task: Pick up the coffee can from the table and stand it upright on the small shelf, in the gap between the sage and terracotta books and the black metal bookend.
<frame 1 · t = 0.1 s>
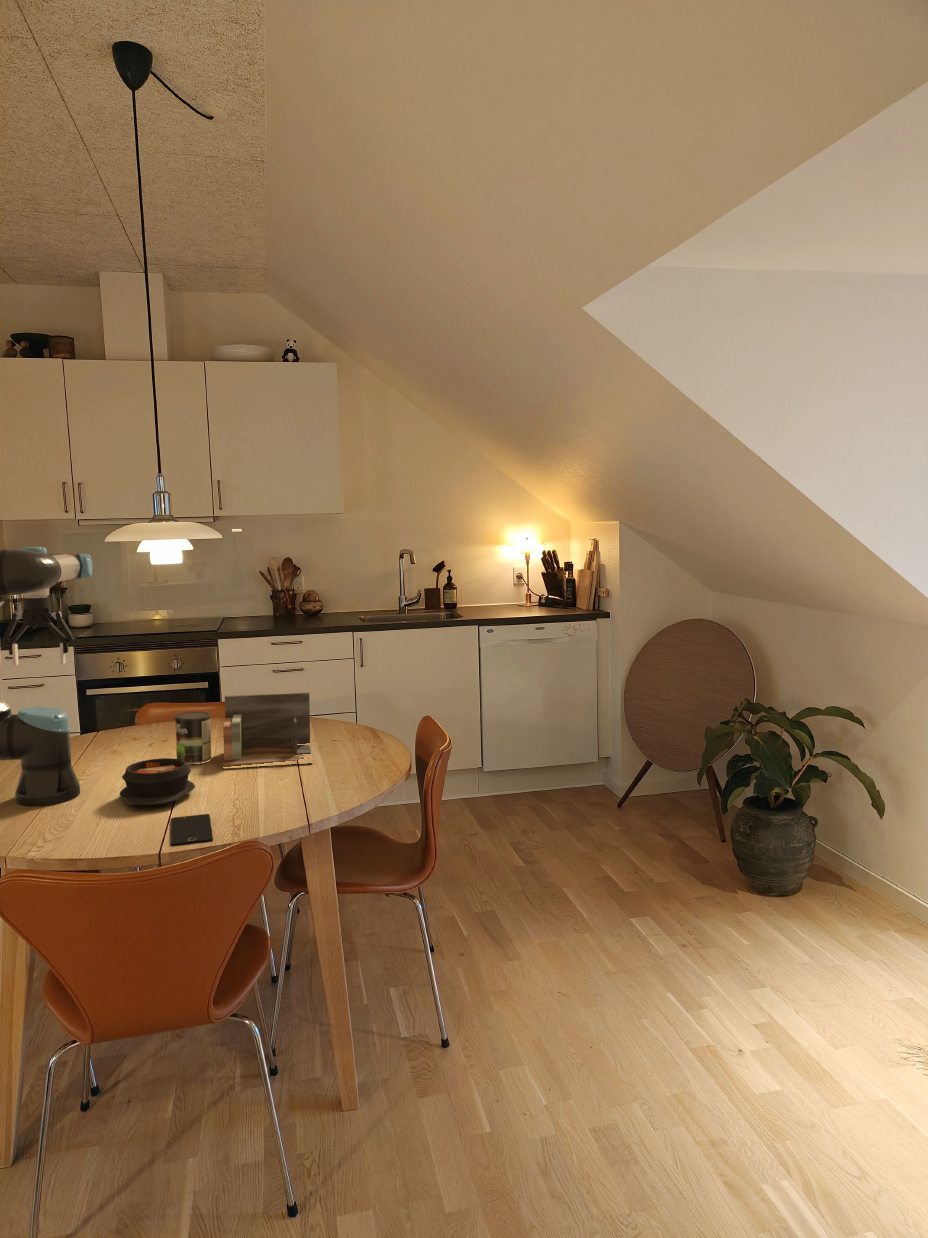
hand: (39, 664, 258), 28 cm above the table, tool pointing down, fingers open, 13 cm apart
cell phone: (191, 832, 192), on the table
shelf: (268, 757, 254), on the table
casserole: (158, 797, 217), on the table
coffee can: (194, 761, 251), on the table
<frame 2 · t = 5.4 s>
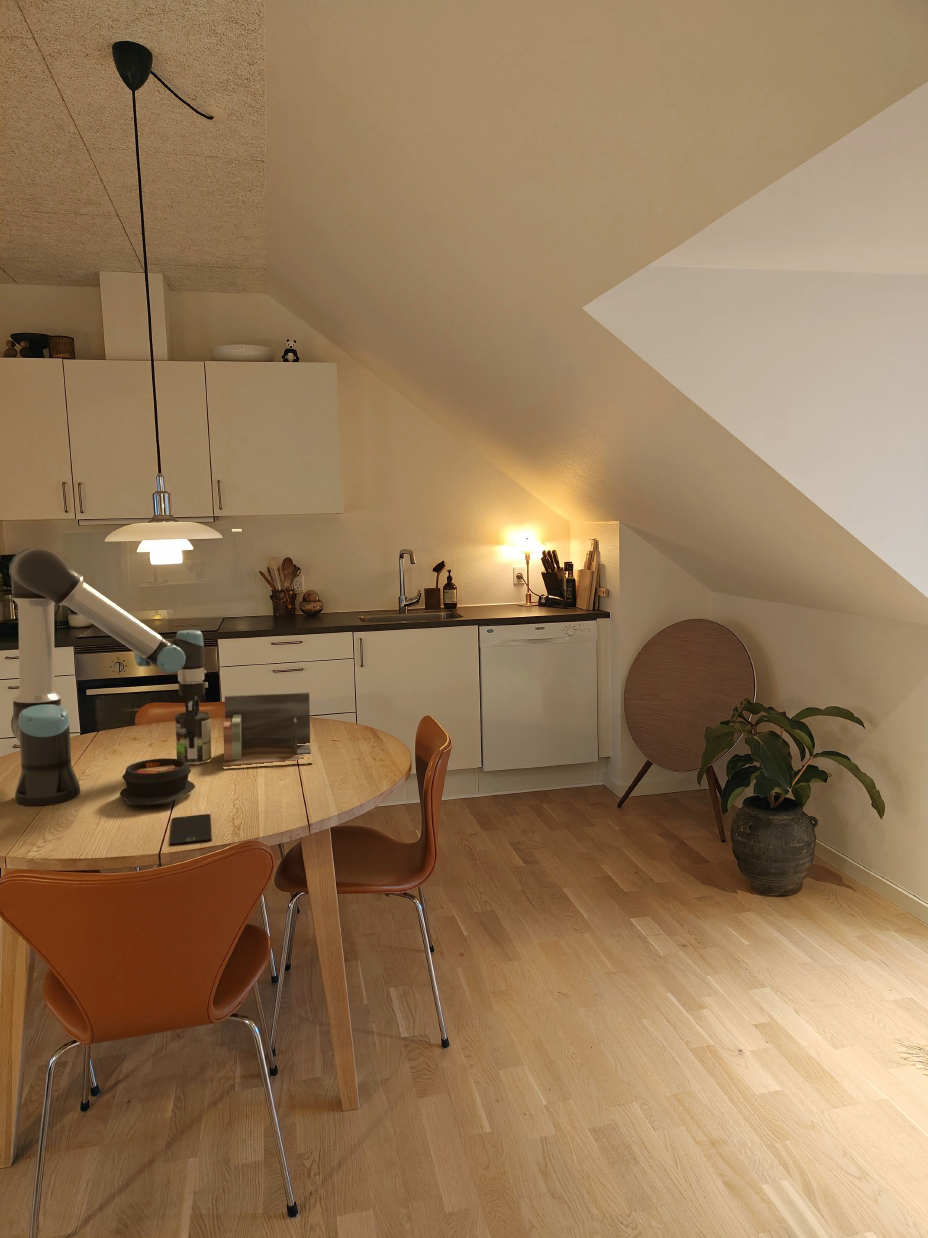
hand: (194, 753, 251), 2 cm above the table, tool pointing down, fingers closed on coffee can, 10 cm apart
coffee can: (194, 761, 251), on the table, touching gripper
everything else where it was.
when the fingers open (5 cm above the table, at t = 13.0 s): coffee can drops 1 cm, resting on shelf.
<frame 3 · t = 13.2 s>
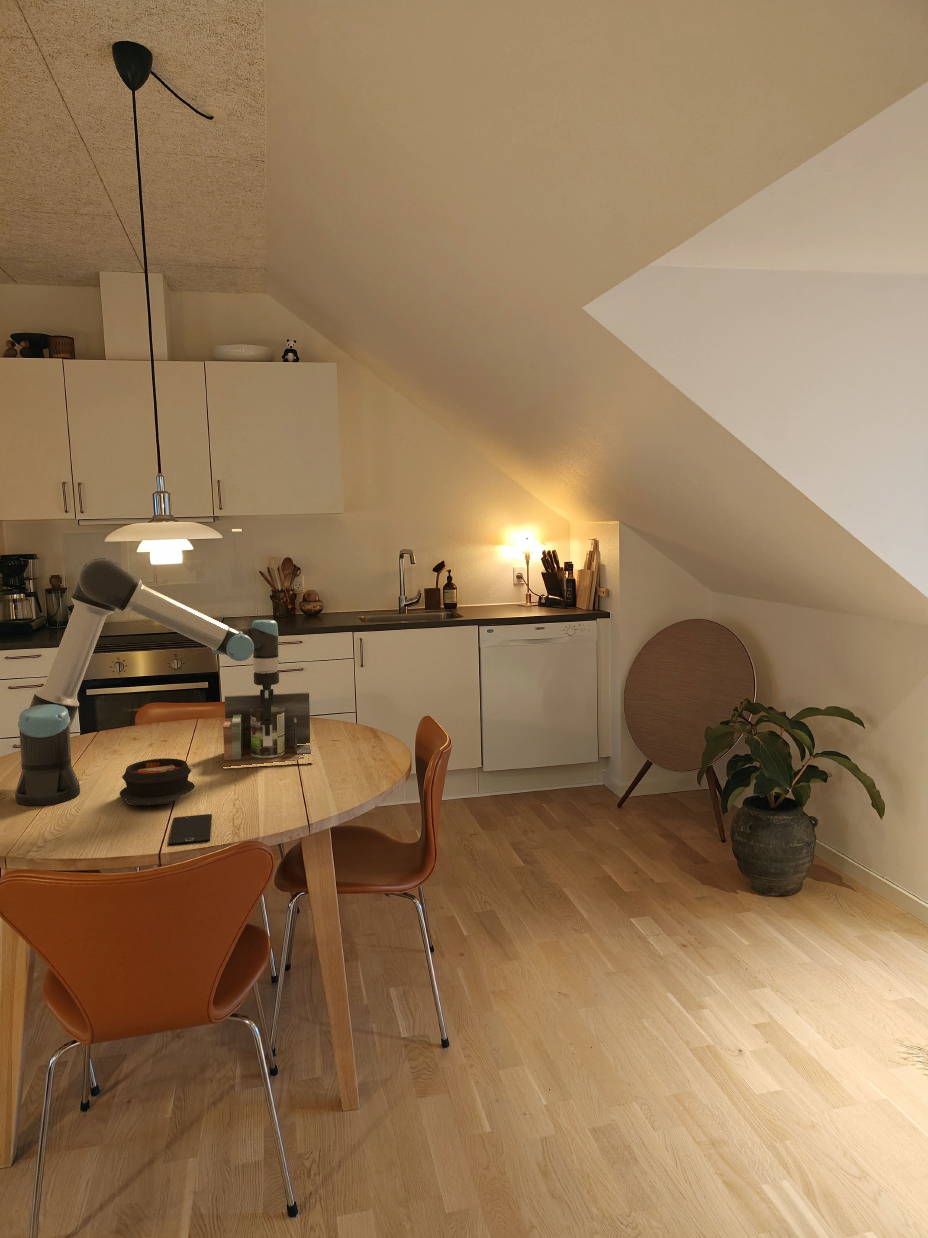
hand: (268, 741, 252), 6 cm above the table, tool pointing down, fingers open, 12 cm apart
coffee can: (268, 754, 253), point 1 cm above the table, touching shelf
everything else where it was.
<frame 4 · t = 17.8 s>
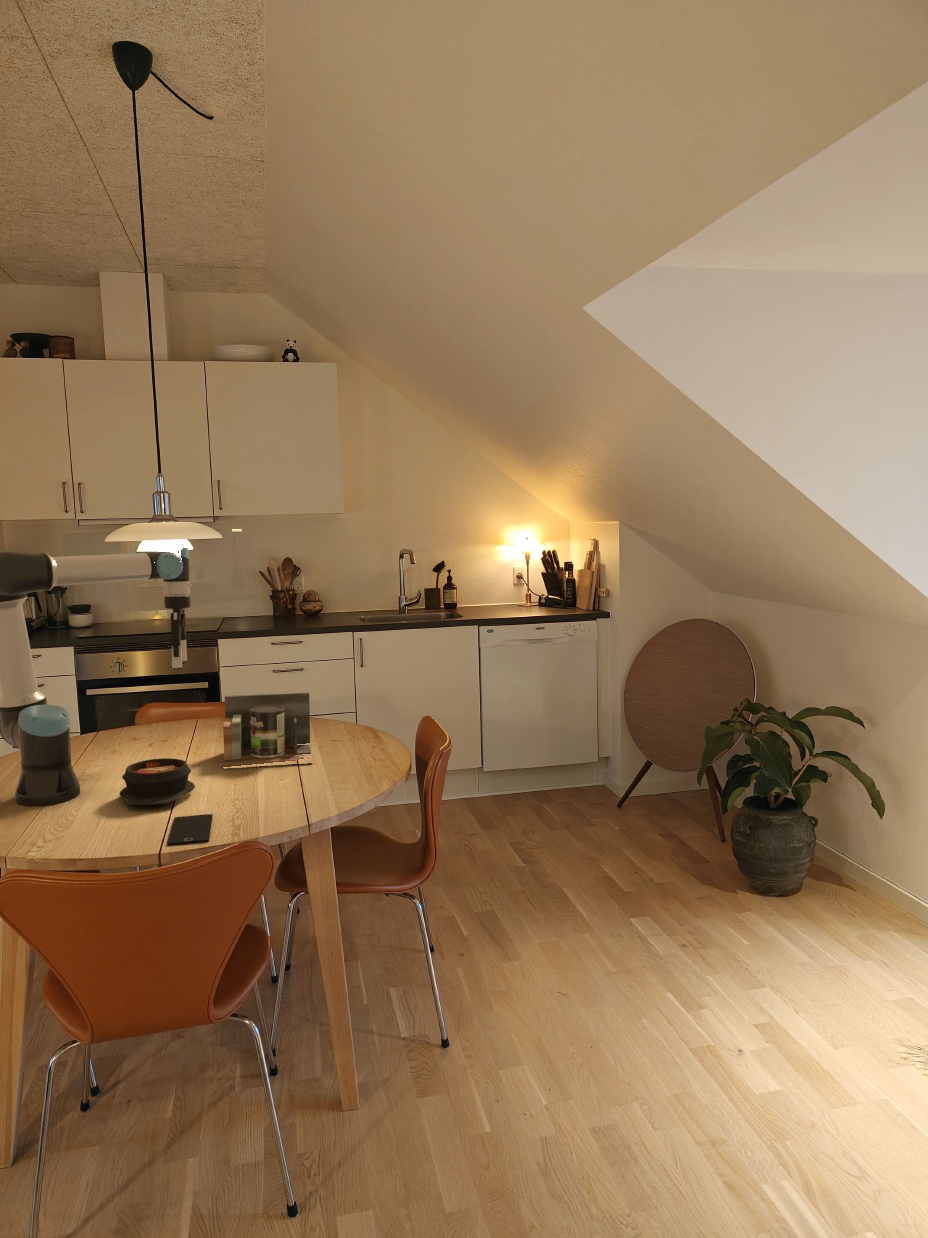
hand: (179, 664, 254), 29 cm above the table, tool pointing down, fingers open, 13 cm apart
nothing on the table moved.
at the end: coffee can inside the target area on the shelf (0.5 cm from its centre), point 1.3 cm above the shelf's base; coffee can tilted 0°; the gripper is holding nothing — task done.
